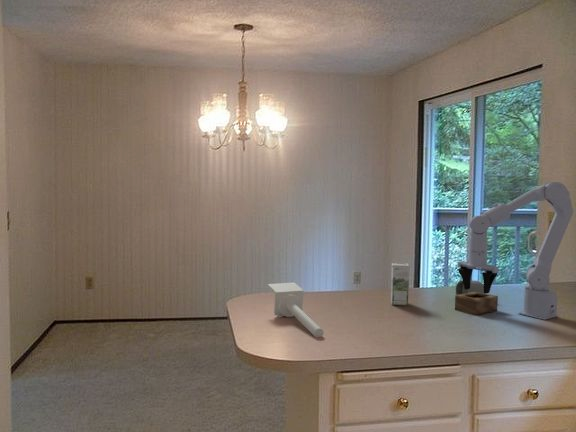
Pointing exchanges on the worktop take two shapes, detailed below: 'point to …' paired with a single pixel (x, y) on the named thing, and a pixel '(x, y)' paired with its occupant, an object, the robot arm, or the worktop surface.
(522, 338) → the worktop surface
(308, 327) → the white block with rod
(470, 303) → the walnut box
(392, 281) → the syrup box
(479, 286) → the ceramic mug
